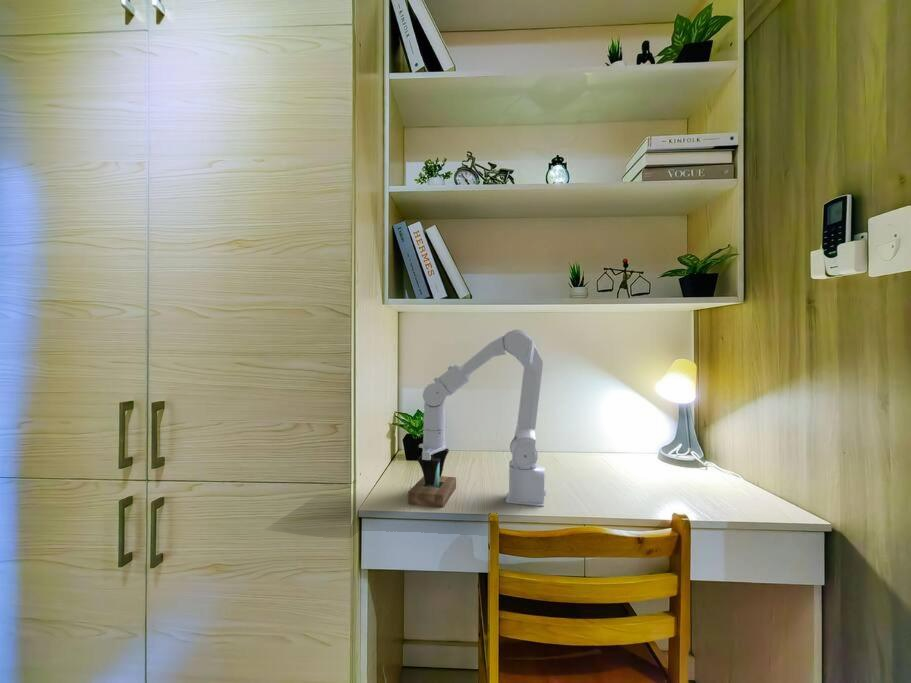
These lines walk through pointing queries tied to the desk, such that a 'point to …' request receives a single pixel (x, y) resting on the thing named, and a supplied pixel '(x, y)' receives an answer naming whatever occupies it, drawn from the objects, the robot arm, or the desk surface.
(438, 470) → the peg
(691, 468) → the desk surface
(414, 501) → the hole block
